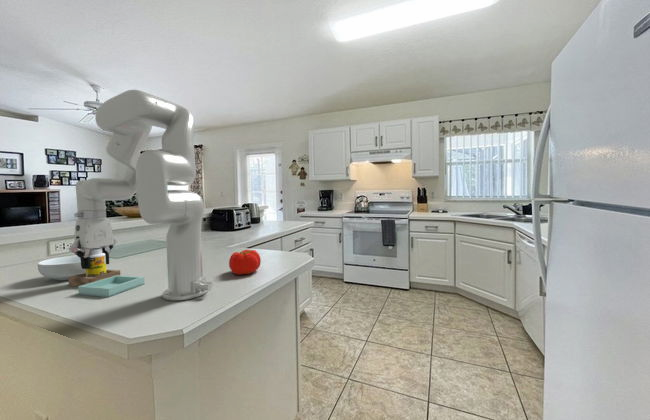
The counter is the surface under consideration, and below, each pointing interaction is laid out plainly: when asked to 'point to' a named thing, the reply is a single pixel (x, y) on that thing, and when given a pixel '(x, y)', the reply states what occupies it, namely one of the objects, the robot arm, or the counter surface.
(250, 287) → the counter surface
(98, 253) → the supplement bottle
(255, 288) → the counter surface
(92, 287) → the tray
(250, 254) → the tomato
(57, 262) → the cereal bowl
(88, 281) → the socket block
